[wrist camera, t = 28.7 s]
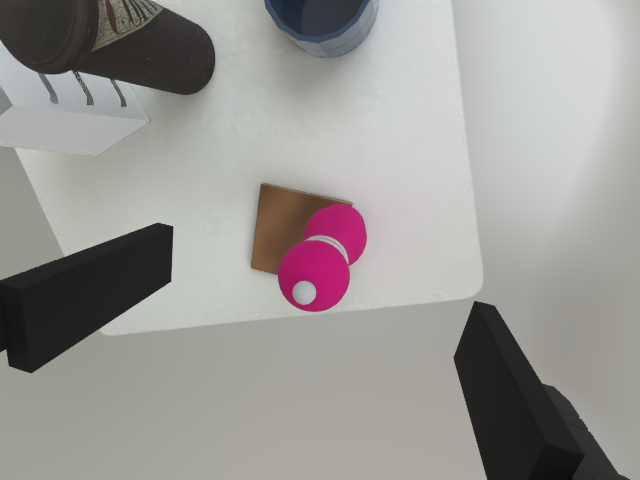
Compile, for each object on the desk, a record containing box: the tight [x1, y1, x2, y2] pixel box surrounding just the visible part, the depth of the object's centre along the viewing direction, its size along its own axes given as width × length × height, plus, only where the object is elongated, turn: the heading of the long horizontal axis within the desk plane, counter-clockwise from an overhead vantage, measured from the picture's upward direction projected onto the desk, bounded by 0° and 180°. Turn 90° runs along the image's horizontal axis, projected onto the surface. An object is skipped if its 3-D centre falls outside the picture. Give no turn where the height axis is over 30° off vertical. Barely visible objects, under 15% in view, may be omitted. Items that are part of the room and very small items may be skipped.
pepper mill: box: [278, 204, 367, 312], centre depth 34 cm, size 7×7×20 cm
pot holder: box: [251, 183, 352, 275], centre depth 45 cm, size 12×12×1 cm
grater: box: [0, 40, 150, 156], centre depth 37 cm, size 10×10×20 cm
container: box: [0, 0, 215, 95], centre depth 33 cm, size 9×9×20 cm
